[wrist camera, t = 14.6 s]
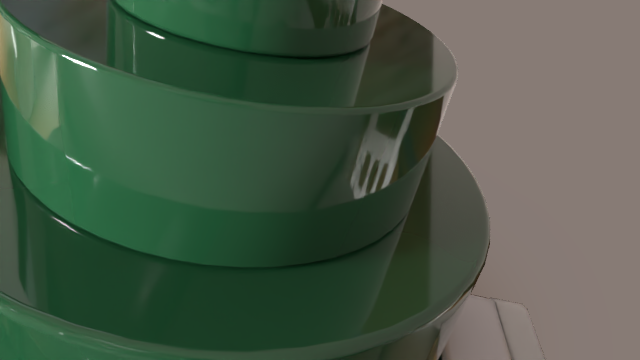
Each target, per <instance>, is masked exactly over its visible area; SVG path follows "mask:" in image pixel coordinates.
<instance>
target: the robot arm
mask: <svg viewBox="0 0 640 360" xmlns="http://www.w3.org/2000/svg"><path fill="white" fill-rule="evenodd" d="M439 360H545V357H544V354H543V351H542V348H541V346H540V343H539V340H538V337H537V335H536V332H535V329H534V326H533V324H532V321H531V318H530V316H529V312H528V310H527V308H526V307H525V306H524V305H523V304H521V303H516V302H510V301H505V300H500V299H495V298H486V297H481V296H476V295H472V294H470V296H469V298H468V300H467V302H466V304H465V306H464V309H463V311H462V313H461V315H460V317H459V319H458V321H457V323H456V325H455V327H454V329H453V331H452V333H451V335H450V338H449V340H448V342H447V344H446V346H445V348H444V350H443V352H442V354H441V356H440V358H439Z"/></svg>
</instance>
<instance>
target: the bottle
mask: <svg viewBox="0 0 640 360" xmlns="http://www.w3.org/2000/svg"><path fill="white" fill-rule="evenodd" d="M457 76H458V67H457V63H456V59H455V58H454V56H453V54H452V52H451V51H450V50H449V48H448V47H447V46H446V45H445V44H444V43H443V42H442V41H441V40H440V39H439V38H437V37H436V36H435V35H434V34H433V33H432V32H430V31H429V30H427V29H426V28H425V27H423V26H421V25H420V24H419V23H417V22H416V21H414V20H412V19H410V18H409V17H407V16H405V15H403V14H401V13H400V12H398V11H396V10H394V9H392V8H390V7H388V6H386V5H383V4H382V0H0V360H439V358H440V356H441V354H442V352H443V350H444V348H445V346H446V344H447V342H448V340H449V338H450V335H451V333H452V331H453V329H454V327H455V325H456V323H457V321H458V319H459V317H460V315H461V313H462V311H463V309H464V306H465V304H466V302H467V300H468V298H469V296H470V294H471V292H472V290H473V288H474V285H475V284H476V282H477V279H478V277H479V275H480V273H481V271H482V269H483V267H484V265H485V261H486V257H487V253H488V249H489V245H490V218H489V213H488V209H487V205H486V200H485V197H484V196H483V193H482V191H481V188H480V186H479V184H478V182H477V180H476V178H475V177H474V175H473V174H472V172H471V171H470V169H469V168H468V166H467V164H466V163H465V162H464V161H463V160H462V159H461V157H460V156H459V155H458V154H457V153H456V151H455V150H454V149H453V148H452V147H451V146H450V145H449V144H448V143H447V142H446V141H445V140H443V139H442V138H441V137H440V136H439V135H438V131H439V128H440V126H441V123H442V120H443V118H444V115H445V112H446V109H447V107H448V104H449V101H450V98H451V96H452V93H453V90H454V87H455V85H456V82H457Z"/></svg>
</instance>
